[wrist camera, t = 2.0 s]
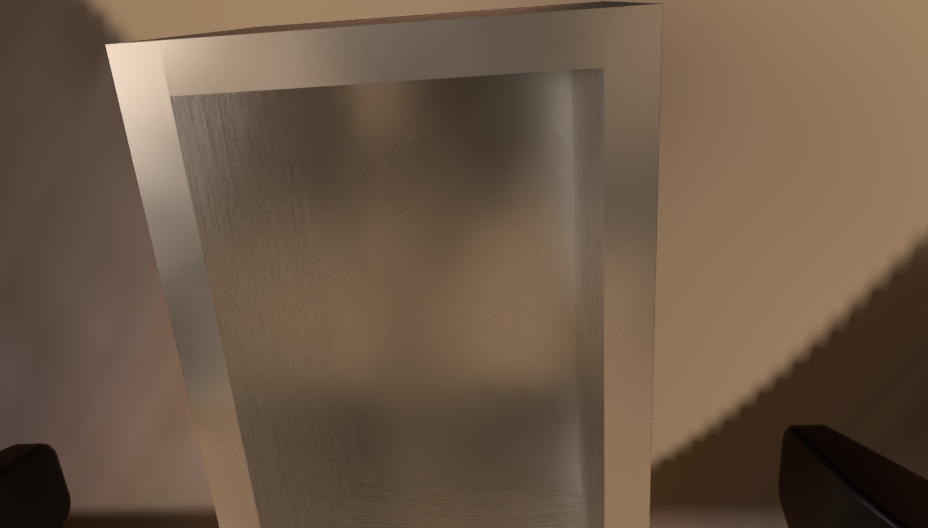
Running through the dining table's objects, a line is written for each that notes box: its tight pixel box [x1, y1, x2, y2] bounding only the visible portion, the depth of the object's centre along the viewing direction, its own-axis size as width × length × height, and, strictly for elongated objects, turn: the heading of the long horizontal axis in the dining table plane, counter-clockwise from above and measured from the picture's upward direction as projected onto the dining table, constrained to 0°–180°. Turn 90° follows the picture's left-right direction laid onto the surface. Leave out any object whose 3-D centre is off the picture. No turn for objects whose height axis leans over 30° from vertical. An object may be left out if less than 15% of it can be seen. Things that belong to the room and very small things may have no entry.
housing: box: [105, 1, 662, 528], centre depth 12 cm, size 10×6×5 cm, turn 4°
